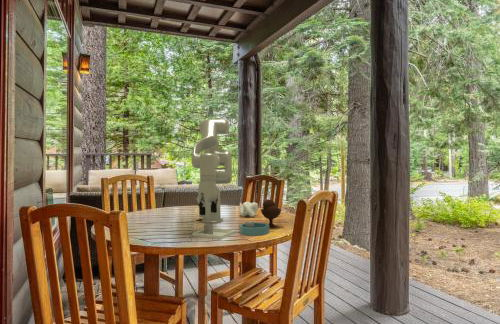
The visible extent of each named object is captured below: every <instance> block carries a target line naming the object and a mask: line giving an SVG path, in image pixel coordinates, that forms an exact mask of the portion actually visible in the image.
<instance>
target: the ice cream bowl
mask: <svg viewBox="0 0 500 324" xmlns="http://www.w3.org/2000/svg"><path fill="white" fill-rule="evenodd" d="M262 203H263V204H262V205H263V208H261V209H260V213H261V214H262V216H263V217H264V218H266V219H268V222H269V223H267V224H268V225H269V229H274V228H276V227H277V226H276V224H274V223H273V221H274V219H277V218H278V217H279V216H280V215H281V213H282V209H281V208H278V204H277V203H275V201H274V200H273V199H265V200H264V202H262Z"/></svg>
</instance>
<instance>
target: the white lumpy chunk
mask: <svg viewBox="0 0 500 324" xmlns="http://www.w3.org/2000/svg"><path fill="white" fill-rule="evenodd" d="M258 210H259V203H257V202H250V201H245V202H243V203H242V204H241V205H240V208H239V214H240V216H241V217H247V216H249V217H251V218H254V217H255V215H256V214H257V212H258Z"/></svg>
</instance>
